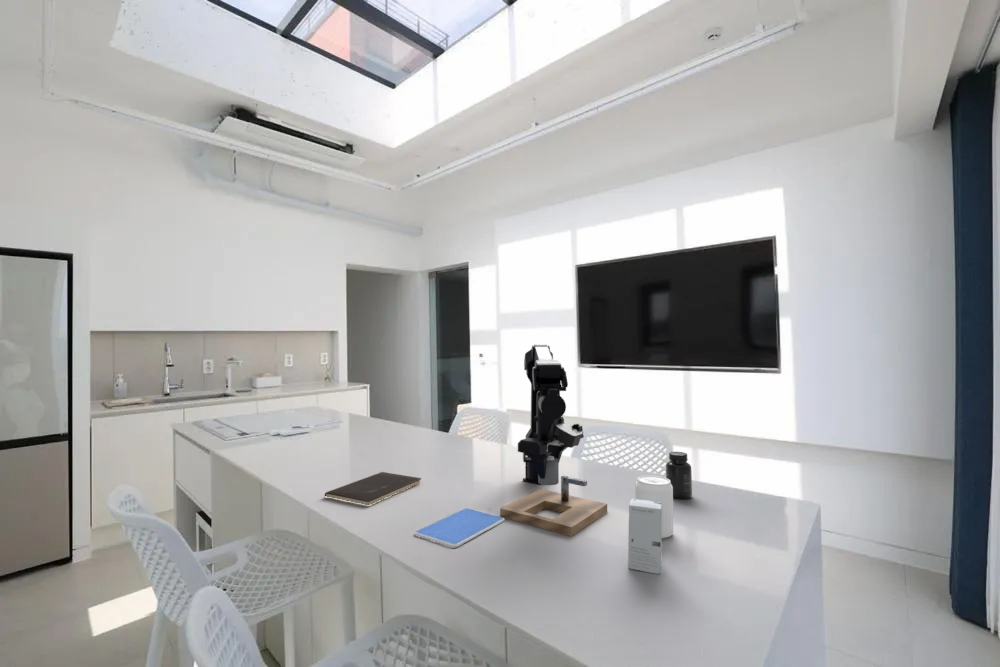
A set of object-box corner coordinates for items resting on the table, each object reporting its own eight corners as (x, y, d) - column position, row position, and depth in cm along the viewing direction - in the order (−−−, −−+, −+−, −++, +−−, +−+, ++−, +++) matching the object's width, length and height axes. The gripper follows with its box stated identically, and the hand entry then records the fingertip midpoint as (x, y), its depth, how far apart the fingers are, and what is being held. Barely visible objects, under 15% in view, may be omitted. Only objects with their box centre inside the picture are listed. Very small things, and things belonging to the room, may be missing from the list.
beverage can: (654, 543, 99) (654, 487, 99) (628, 529, 106) (627, 477, 107) (681, 536, 103) (680, 481, 103) (653, 523, 110) (653, 473, 110)
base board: (500, 516, 115) (500, 508, 115) (540, 496, 130) (540, 489, 130) (571, 536, 103) (571, 527, 103) (607, 511, 118) (607, 503, 118)
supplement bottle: (687, 492, 133) (687, 450, 134) (695, 500, 127) (695, 456, 127) (663, 491, 134) (663, 450, 134) (669, 499, 127) (669, 455, 128)
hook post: (559, 500, 120) (559, 477, 121) (563, 498, 122) (563, 475, 122) (584, 505, 116) (584, 482, 116) (587, 503, 118) (587, 480, 118)
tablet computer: (466, 511, 119) (466, 506, 119) (506, 522, 112) (506, 517, 112) (412, 537, 103) (412, 531, 103) (455, 552, 96) (455, 545, 96)
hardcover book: (421, 485, 141) (421, 478, 141) (368, 509, 121) (368, 500, 121) (380, 478, 148) (380, 471, 148) (324, 500, 128) (324, 491, 128)
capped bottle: (534, 482, 114) (534, 457, 114) (544, 478, 118) (544, 453, 118) (551, 486, 111) (551, 460, 111) (562, 481, 115) (562, 456, 115)
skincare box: (627, 569, 88) (627, 505, 88) (630, 559, 92) (629, 497, 92) (661, 575, 85) (661, 509, 86) (662, 564, 90) (662, 501, 90)
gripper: (557, 421, 102) (557, 492, 102) (594, 411, 117) (594, 473, 117) (516, 416, 109) (516, 482, 109) (556, 407, 124) (556, 466, 123)
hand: (548, 476), depth 114 cm, fingers closed on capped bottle, 5 cm apart
